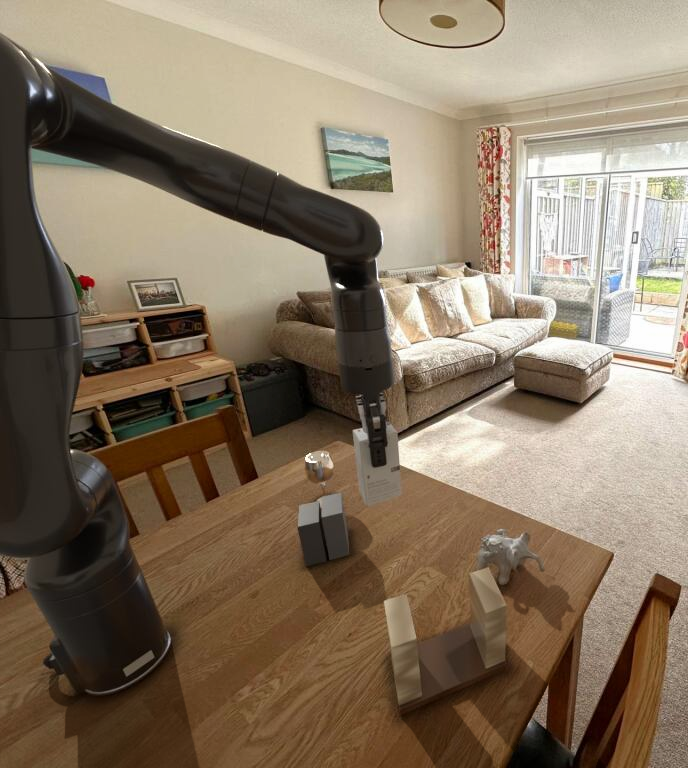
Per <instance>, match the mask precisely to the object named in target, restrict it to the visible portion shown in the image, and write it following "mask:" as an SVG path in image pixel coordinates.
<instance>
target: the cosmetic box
mask: <svg viewBox="0 0 688 768" xmlns="http://www.w3.org/2000/svg"><path fill="white" fill-rule="evenodd" d="M386 422H387V429H386V433H387V441H388V444H387V447H385V451H386V460H387V464H386V465H385V466H381V467H376V468H374V467H372V464H371V456H370V448H369V447H368V444H367V442H368V438H367V433H365V432H364V431H363V428H362V427H360V428H356V429H353V430H352V438H353V447H354V456H355V465H356V473H357V481H358V489H359V495H360V497H361V499H362V501H363V503H364V504H365V507H371V506H374V505H378V504H381V503H383V502H387V501H390V500H393V499H397V498H399V497H401V496H402V495H403V490H402V478H401V477H402V476H401V465H400V464H401V463H400V462H401V461H400V450H399V435H398V434H399V433H398V431H397V430H396V429H395V428H394V426H393V425H392V424H391V422H389V421H386ZM379 438H381V437H379ZM374 439H375V438H374Z"/></svg>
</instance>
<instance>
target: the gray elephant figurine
mask: <svg viewBox="0 0 688 768" xmlns="http://www.w3.org/2000/svg"><path fill="white" fill-rule="evenodd" d="M480 540H481V541H480V549H479V551H478V554H477V566H476V571H478V570H481V569H485V568H487V566H488V565H489V564H491V563H492V564H493V565H497V566H498V567H499V575H498V577H497V578H498V580H497V581H498V584H499V585H500V586H504V585H507V584H508V582H509V581H510V574H511V572H512V571H511V570H512V569H513V570H516V568H517V566H523V565H524V564H526V562H527V559H532V560H535V561H536V562H537V564H538V566H539V571H540V572H541V573H543V572H544V571H545V566H544V565H543V562H542V560H541V558H540V556H538V555H537V554H535V553H533V552H531V551H530V550H529V548H528V545H529V543H530V540H531V536H530V534H529V533H528V532H523V533H521V535H520V536H519V537H516V538H511V537H509V536H506V530H505V529H502V528H500V529H497V530H496V534H493V535H492V534H489V533H488V534H487V535H485V536H484V537H483V538H482V537H481V538H480Z"/></svg>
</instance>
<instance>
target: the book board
mask: <svg viewBox="0 0 688 768" xmlns="http://www.w3.org/2000/svg"><path fill="white" fill-rule="evenodd" d="M468 577H469V580H468V581H469V616H470V617H469V618H470V619H469V621H470V623H469V624H465V625H463V626H460V627H457V628H454V629H452V630H449V631H446V632H444V633H441V634H438V635H436V636H433V637H430V638H428V639H425V640H422V641H420V642H418V640H417V639H418V637H417V635H416V629H415V625H414V621H413V618H412V612H411V608H410V603H409V599H408V594H407V593H404V594H401V595H398V596H394V597H391V598H389V599H385V600H383V606H384V613H385V620H386V629H387V635H388V644H389V650H390V658H391V664H392V665H391V666H392V671H393V677H394V685H395V691H396V695H397V696H396V698H397V704H398V711H399V716H402V715H404V714H407V713H409V712H411V711H414V710H417V709H418V708H421V707H423V706H425V705H428V704H430V703H432V702H434V701H437V700H439V699H441V698H442V699H443V698H444V697H446V696H449V695H451V694H453V693H455V692H458V691H460V690H463V689H465V688H467V687H469V686H472V685H474V684H477V683H478V682H480V681H483V680H485V679H486V680H487V679H488V678H490V677H492V676H494V675H497V674H499V673H502V672H504V671H506V670H507V661H506V652H507V651H506V647H507V611H508V610H507V609H508V607H507V603H506V601H505V599H504V597H503V594H502V592H501V590H500V588H499V587H498V584H497V582H496V580H495V578H494V575H493V574H492V571H491V569H490V568H489V567H486V568H485V569H481V570H478V571H477V570H476V571H473V572H470V573H469V575H468Z"/></svg>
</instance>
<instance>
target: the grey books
mask: <svg viewBox="0 0 688 768" xmlns="http://www.w3.org/2000/svg"><path fill="white" fill-rule="evenodd" d="M321 497H322V508H321V507H320V502H319V501H317V500H316V501H317V502H316V501H313V502H308V503H304V504H303V503H302V504H299V505H298V514H297V525H296V528H297V530H298V537H299V541H300V546H301V549H302V555H303V559H304V564H305V567H309V566H314V565H318V564H321V563H324V562H327V559H329V561H332V560H336V559H340V558H343V557H346V556H350V546H349V545H350V544H349V543H350V542H349V531H348V526H347V520H346V514H345V509H344V501H343V495H342V492H338V493H333V494H328V496H327V495H326V496H324V495H323V496H321ZM327 553H328V554H327ZM327 555H328V558H327Z"/></svg>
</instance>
